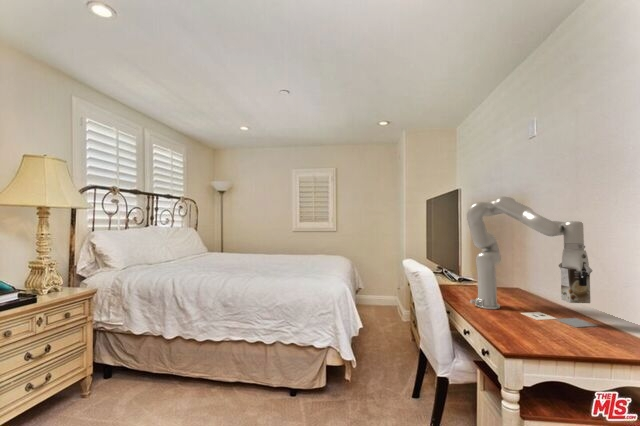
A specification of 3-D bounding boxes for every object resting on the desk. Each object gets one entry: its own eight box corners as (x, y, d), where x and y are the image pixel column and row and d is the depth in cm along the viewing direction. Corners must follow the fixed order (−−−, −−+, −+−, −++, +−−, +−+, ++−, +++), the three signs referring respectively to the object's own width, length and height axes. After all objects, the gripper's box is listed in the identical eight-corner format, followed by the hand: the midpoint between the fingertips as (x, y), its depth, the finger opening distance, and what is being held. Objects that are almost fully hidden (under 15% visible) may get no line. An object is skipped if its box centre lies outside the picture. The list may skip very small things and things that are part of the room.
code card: (537, 320, 152) (537, 319, 152) (520, 313, 163) (520, 312, 163) (557, 319, 153) (557, 318, 153) (539, 312, 164) (539, 311, 164)
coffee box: (570, 303, 145) (569, 269, 145) (560, 299, 151) (559, 266, 151) (591, 303, 144) (590, 269, 144) (581, 299, 150) (579, 266, 150)
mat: (576, 327, 141) (576, 326, 141) (555, 319, 152) (555, 319, 152) (597, 326, 142) (597, 325, 142) (575, 318, 153) (575, 317, 153)
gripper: (599, 248, 140) (600, 287, 139) (564, 245, 157) (565, 280, 157) (584, 248, 139) (585, 288, 138) (551, 245, 156) (552, 280, 156)
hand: (575, 283), depth 147 cm, fingers closed on coffee box, 7 cm apart
